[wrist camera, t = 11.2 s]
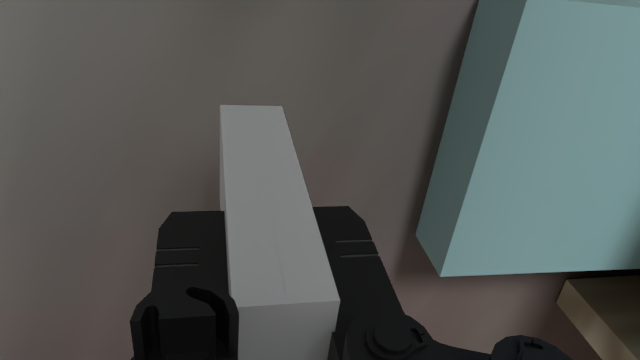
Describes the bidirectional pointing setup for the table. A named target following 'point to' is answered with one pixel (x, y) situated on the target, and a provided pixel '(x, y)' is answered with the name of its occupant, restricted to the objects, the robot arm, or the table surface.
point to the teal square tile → (540, 143)
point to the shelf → (605, 314)
